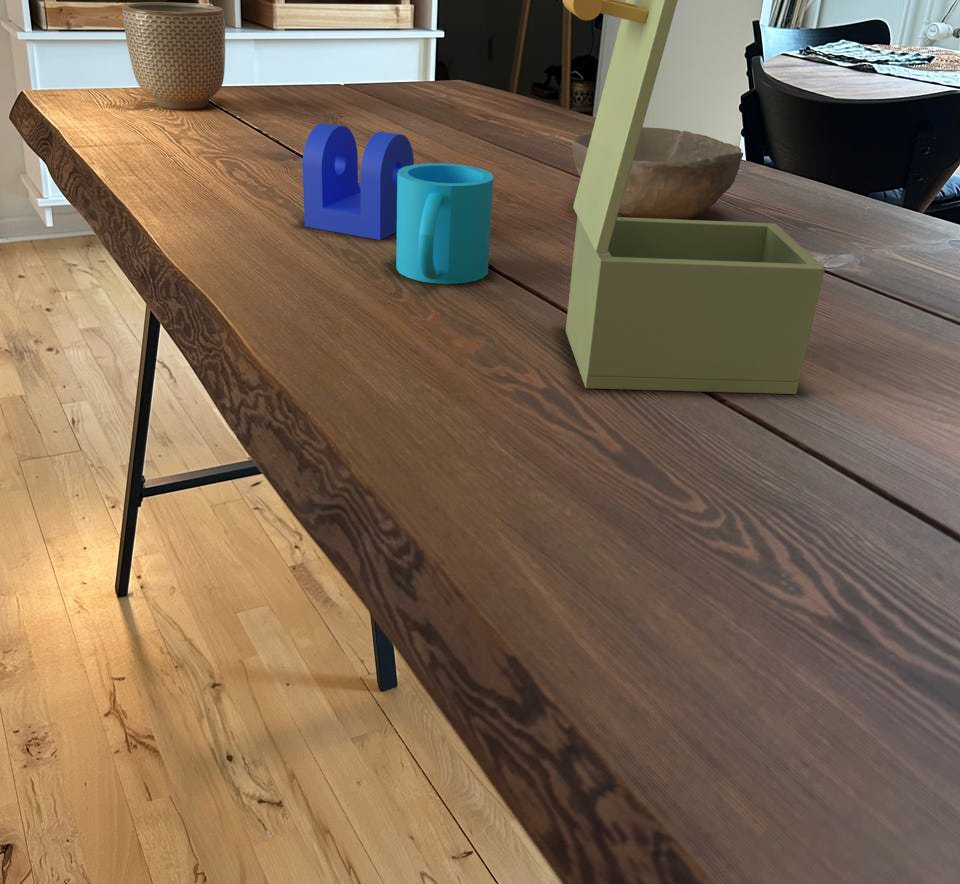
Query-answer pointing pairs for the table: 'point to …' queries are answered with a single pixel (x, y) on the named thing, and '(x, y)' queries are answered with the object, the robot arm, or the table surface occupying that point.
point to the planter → (176, 51)
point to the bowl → (672, 173)
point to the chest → (692, 307)
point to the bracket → (352, 181)
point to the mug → (443, 222)
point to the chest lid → (619, 107)
